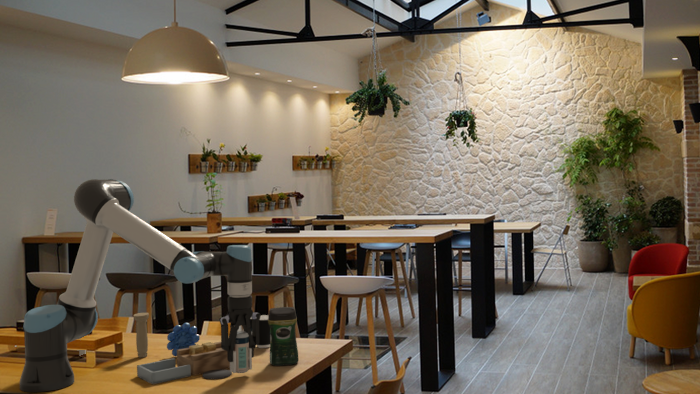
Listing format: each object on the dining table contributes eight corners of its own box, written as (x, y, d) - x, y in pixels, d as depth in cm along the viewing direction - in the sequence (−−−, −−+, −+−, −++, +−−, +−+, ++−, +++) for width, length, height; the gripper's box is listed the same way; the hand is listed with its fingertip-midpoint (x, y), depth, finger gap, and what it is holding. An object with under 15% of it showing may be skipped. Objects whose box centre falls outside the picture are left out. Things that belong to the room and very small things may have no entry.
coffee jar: (297, 359, 225) (296, 304, 225) (299, 365, 217) (297, 308, 217) (269, 361, 224) (267, 306, 224) (269, 367, 216) (267, 310, 216)
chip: (195, 357, 213) (194, 348, 213) (189, 355, 217) (189, 346, 217) (203, 355, 215) (203, 346, 215) (197, 353, 218) (197, 344, 218)
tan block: (207, 354, 216) (207, 345, 216) (202, 352, 219) (201, 343, 219) (216, 353, 218) (215, 344, 218) (210, 351, 221) (210, 342, 221)
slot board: (193, 375, 209) (193, 356, 209) (177, 368, 218) (176, 349, 218) (249, 363, 222) (248, 345, 221) (231, 356, 231) (230, 339, 231)
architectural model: (74, 360, 234) (74, 339, 234) (81, 355, 241) (80, 334, 241) (84, 359, 235) (84, 338, 234) (91, 354, 242) (90, 334, 241)
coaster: (211, 381, 202) (210, 379, 202) (197, 375, 209) (197, 373, 209) (237, 375, 208) (237, 373, 208) (223, 369, 215) (223, 367, 215)
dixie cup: (278, 346, 244) (278, 317, 244) (259, 349, 239) (259, 320, 239) (267, 342, 250) (267, 314, 250) (249, 345, 245) (248, 316, 245)
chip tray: (152, 384, 200) (152, 372, 200) (137, 376, 210) (136, 365, 210) (190, 376, 208) (190, 364, 208) (174, 368, 217) (174, 358, 217)
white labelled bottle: (242, 368, 209) (241, 330, 209) (252, 371, 206) (252, 332, 206) (230, 371, 206) (229, 333, 205) (240, 374, 203) (240, 335, 202)
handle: (152, 354, 238) (150, 312, 237) (146, 359, 231) (144, 316, 231) (138, 354, 238) (137, 312, 237) (132, 359, 231) (131, 316, 231)
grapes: (203, 353, 237) (202, 319, 237) (198, 358, 230) (197, 323, 230) (170, 354, 237) (169, 320, 237) (165, 358, 231) (163, 324, 230)
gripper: (219, 300, 197) (221, 378, 198) (270, 293, 209) (271, 367, 209) (208, 297, 203) (209, 372, 204) (258, 290, 214) (259, 362, 215)
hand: (240, 370), depth 206 cm, fingers closed on white labelled bottle, 5 cm apart
